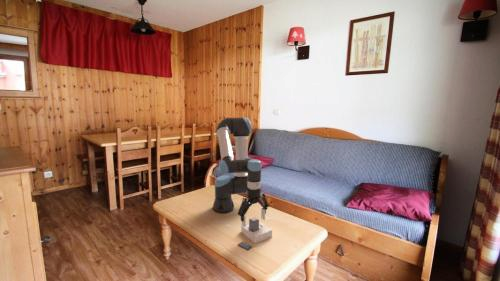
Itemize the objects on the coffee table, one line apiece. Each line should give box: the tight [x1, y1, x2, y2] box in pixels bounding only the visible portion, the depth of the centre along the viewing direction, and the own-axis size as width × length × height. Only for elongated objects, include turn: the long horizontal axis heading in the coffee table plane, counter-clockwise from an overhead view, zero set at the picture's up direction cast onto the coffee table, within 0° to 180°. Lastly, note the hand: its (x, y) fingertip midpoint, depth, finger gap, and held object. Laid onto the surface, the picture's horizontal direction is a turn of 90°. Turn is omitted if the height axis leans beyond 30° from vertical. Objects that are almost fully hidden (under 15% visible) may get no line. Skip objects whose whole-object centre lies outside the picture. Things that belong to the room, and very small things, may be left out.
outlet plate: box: [240, 220, 273, 244], centre depth 142 cm, size 14×12×4 cm
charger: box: [248, 216, 260, 232], centre depth 140 cm, size 4×4×10 cm
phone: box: [237, 241, 253, 251], centre depth 131 cm, size 7×4×1 cm, turn 51°
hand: (253, 222), depth 140 cm, fingers open, 13 cm apart
